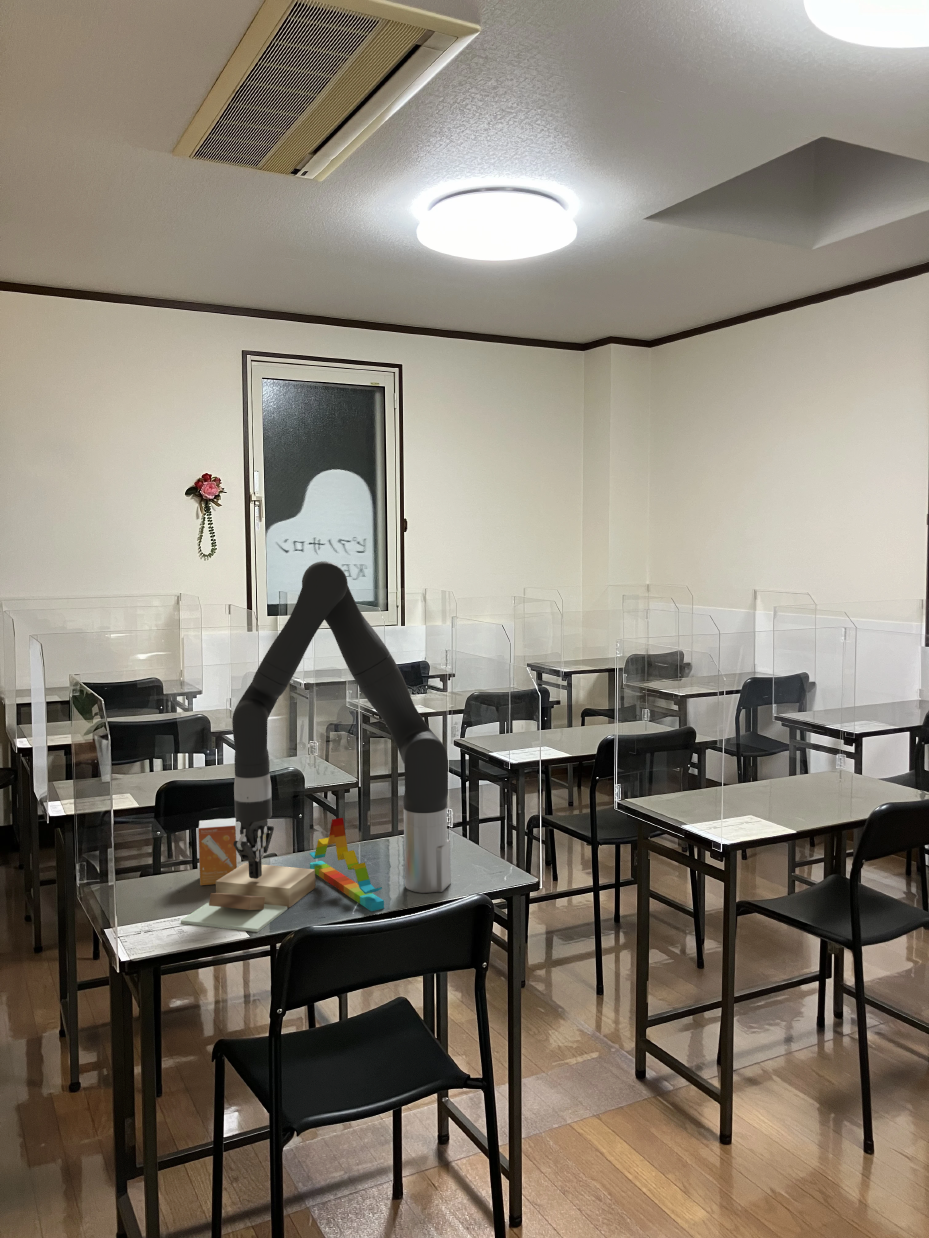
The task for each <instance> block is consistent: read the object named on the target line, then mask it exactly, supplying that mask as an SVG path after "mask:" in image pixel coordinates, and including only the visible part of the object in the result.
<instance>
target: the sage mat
mask: <svg viewBox="0 0 929 1238" xmlns="http://www.w3.org/2000/svg"><path fill="white" fill-rule="evenodd" d="M287 910H288V907H287V906H278V905H268V904H264V909H259V910H246V909H237V908H227V907H217V906H209V901H208V902H206V903H204V904H203V905H202V906H201V907H198V909H195V910H194V911H193V912H192V913H190V914H188V915H187V916H185V917H183V918H182V919H181V920H180V923H181V924H186V925H194V926H200V927H202V926H203V927H211V928H219V929H220V928H221V929H229V930H236V931H237V930H238V931H246V932H253V933H258V932H260V931H261V930H263V929H264V928H265V927H266V926H268V925H269V924H270V923H271V922H273V921H274V920H275V919H277V918H278V917H279V916H281V915H282V914H283V913H285V912H286V911H287Z"/></svg>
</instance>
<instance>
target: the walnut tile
mask: <svg viewBox="0 0 929 1238" xmlns="http://www.w3.org/2000/svg"><path fill="white" fill-rule="evenodd" d="M208 902H209V906H217V907H227V908H237V909H246V910H259V909H264V902H265V897H260V896H250V895H239V894H229V893H216V892H210V894H209V901H208Z"/></svg>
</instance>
